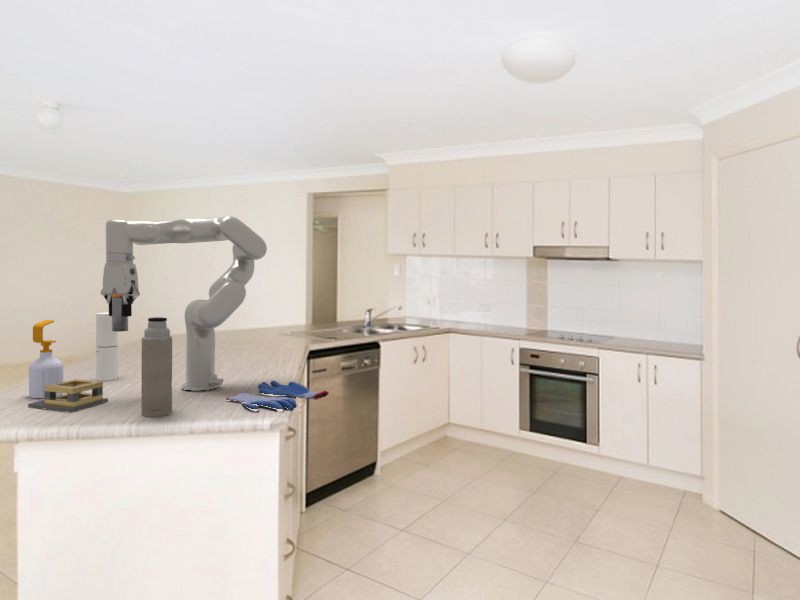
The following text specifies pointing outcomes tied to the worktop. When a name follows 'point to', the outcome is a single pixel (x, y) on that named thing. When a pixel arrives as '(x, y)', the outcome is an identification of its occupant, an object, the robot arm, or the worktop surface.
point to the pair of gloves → (277, 389)
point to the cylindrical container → (106, 348)
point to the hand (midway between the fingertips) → (120, 315)
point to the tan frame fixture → (71, 395)
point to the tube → (118, 313)
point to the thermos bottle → (156, 368)
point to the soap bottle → (44, 365)
